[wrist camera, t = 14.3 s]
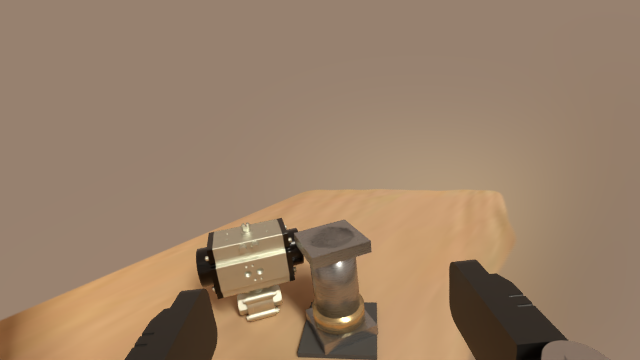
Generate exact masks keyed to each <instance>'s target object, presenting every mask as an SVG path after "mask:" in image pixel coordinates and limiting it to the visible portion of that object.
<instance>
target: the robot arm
mask: <svg viewBox="0 0 640 360" xmlns="http://www.w3.org/2000/svg"><path fill="white" fill-rule="evenodd" d="M449 300H450V310H451V314H452V317H453V320H454V322H455V324H456V326H457V328H458V329H459V331H460V333H461V335H462V336H463V338H464V340H465V342H466V343H467V345H468V347H469V349H470V350H471V352H472V354H473V356H474V357H475V359H476V360H610V359H609V358H607V357H606V356H605V355H604V354H602V353H600V352H599V351H597V350H595V349H593V348H591V347H589V346H586V345H584V344H581V343H577V342H573V341H568V340H567V339H566V338H565V336H564V335H562V333H561V332H560V331H559V330H558V329H557V328H556V327H555V326H554V325H552V323H551V322H550V321H549V320H548V319H547V318H546V317H545V316H544V315H543V314H542V313H541V312H540V311H539V310H538V309H537V308H536V307H535V306H533V305H532V302H531V301H530V300H529V299H528V298H527V297H526V296H523V293H522V292H521V291H520V290H519V289H518V288H517V287H516V286H515V285H514V284H513V283H512V282H510V281H509V280H507V279H505V278H503V277H501V276H500V275H498V274H489V273H488V272H487V271H486V270H485V269H484V268H483V267H482V266H481V264H480V263H479V262H478V261H477V260H466V261H457V262H451V264H450V268H449ZM216 344H217V326H216V322H215V318H214V314H213V310H212V306H211V302H210V298H209V294H208V292H207V290H206V289H196V290H187V291H181V292H180V293H179V295H178V296H177V298H176V299H175V301H174V303H173V304H172V306H171V307H170V308H168V309H164V310H163V311H162V312H160V313H159V314H158V315H157V316H156V317H155V318H153V319H152V320H151V321H150V323H149V324H148V326H147V327H146V329H145V330H144V332H143V333H142V336H140V337H139V339H138V340H137V342H136V343H135V347H134V348H132V349H131V351H130V352H129V354H128V355H127V357H126V358H125V360H211V359H212V357H213V354H214V351H215V348H216Z"/></svg>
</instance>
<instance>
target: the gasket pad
mask: <svg viewBox="0 0 640 360" xmlns="http://www.w3.org/2000/svg"><path fill="white" fill-rule="evenodd" d="M312 304H313V302H311V306H310V308H312ZM364 309H365V310H366V312H367V313H368V314H369V315H370V317H371V318H372V319H373V320H374V322H375V323H376V324H377V303H364ZM298 357H314V358H342V359H369V360H377V335H375V336H372V337H370V338H367V339H365V340H362V341H360V342H357V343H355V344H352V345H350V346H347V347H345V348H342V349H340V350H337V351H335V352H332V353H330V354H327V355H325V353H324V351H323V349H322V347H321V345H320V343H319V342H318V340H317V338H316V336H315V334H314V332H313V330H312V328H311V326H310V324H309V322H308V320H306V324H305V328H304V331H303V335H302V338H301V342H300V346H299V349H298Z"/></svg>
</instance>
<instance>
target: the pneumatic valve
mask: <svg viewBox="0 0 640 360" xmlns="http://www.w3.org/2000/svg"><path fill="white" fill-rule="evenodd" d="M296 232H298V230H297V229H296V228H293V229H289V230H286V225H284V223H283V220H282V218H279V219H274V220H269V221H265V222H260V223H255V224H249V223H246V225H244V223H243V224H242V225H241V226H240V227H236V228H231V229H226V230H221V231H216V232H212V233H209V236H208V242H207V247H205V248H200V249H197V252H196V263H197V271H198V276H199V279H200V283H201V285H202V286H203V287H206V286H211V285H214V287H213V292H216V294H217V296H218V299H221V298H225V297H229V296H233V295H237V294H238V296H237V302H238V308H239V313H240V314H241V315H244V314H248V313H249V315H247V321H250V322H252V321H256V320H259V319H263V318H267V317H270V316H274V315H276V314H277V313H279V311H280V309H279V308H278V307H277V308H275V306H278V305H282V303H283V301H282V295H281V291H280V286H279V285H277V284H281V283H285V282H289V281H293V280H295V277H294V275H295V274H294V272H296V267H293V266H294V265H298V264H302V263H304V256H303V254H302V252H301V251H300V249H299V248H298V247H297V245H296V244H295V239H294V233H296ZM273 285H274V286H273ZM241 293H242V294H241Z"/></svg>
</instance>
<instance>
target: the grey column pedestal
mask: <svg viewBox="0 0 640 360" xmlns="http://www.w3.org/2000/svg"><path fill="white" fill-rule="evenodd" d="M294 239H295V244H296V245H297V247H298V248H299V249H300V251H301V252H302V254H303V255H304V257H305V258H306V259H307V261H308V262H309V264H310V268H311V275H312V282H313V289H314V296H315V299H314V301H313V304H312V308H310V309H307V310H305V311H306V318H307V320H308V322H309V324H310V326H311V328H312V330H313V332H314V334H315V336H316V338H317V340H318V342H319V343H320V345H321V347H322V349H323V351H324V353H325V355H327V354H330V353H332V352H335V351H337V350H340V349H342V348H345V347H347V346H350V345H352V344H355V343H357V342H360V341H362V340H365V339H367V338H370V337H372V336H375V335H377V334H378V328H377V324H376V323H375V322H374V320H373V319H372V318H371V317H370V315H369V314H368V313H367V312H366V310H365V309H364V300H363V298H362V296H361V295H360V294H359V285H358V275H357V264H356V257H357V256H360V255H363V254H367V253H370V252H371V241H370V240H369V239H368V238H366V237H365V236H364V235H363V234H362V233H360V232H359V231H358V230H357V229H355V228H354V227H353V226H352V225H351V224H349V223H348V222H347V221H346V220H341V221H337V222H334V223H330V224H326V225H322V226H319V227H315V228H311V229H307V230H304V231H300V232H296V233H294Z"/></svg>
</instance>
